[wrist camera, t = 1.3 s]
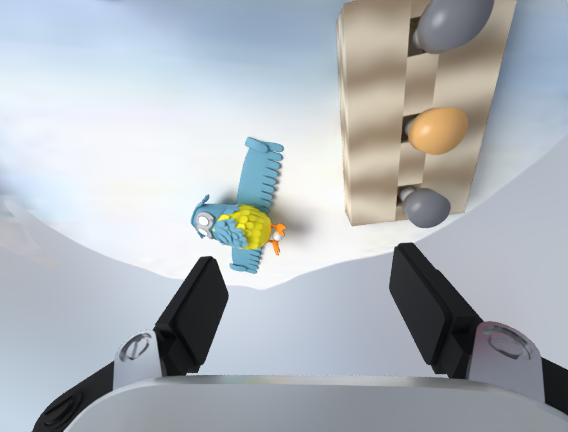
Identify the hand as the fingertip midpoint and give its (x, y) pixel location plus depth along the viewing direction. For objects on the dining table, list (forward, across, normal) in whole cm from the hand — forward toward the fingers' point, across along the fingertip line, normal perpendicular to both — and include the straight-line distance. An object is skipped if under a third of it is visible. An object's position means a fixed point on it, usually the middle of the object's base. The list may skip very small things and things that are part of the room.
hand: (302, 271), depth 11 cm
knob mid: (+20, -15, -4) cm, 25 cm away
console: (+25, -14, -4) cm, 29 cm away
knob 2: (+20, -14, -13) cm, 28 cm away
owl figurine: (+26, +11, +8) cm, 29 cm away
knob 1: (+20, -15, +5) cm, 26 cm away
